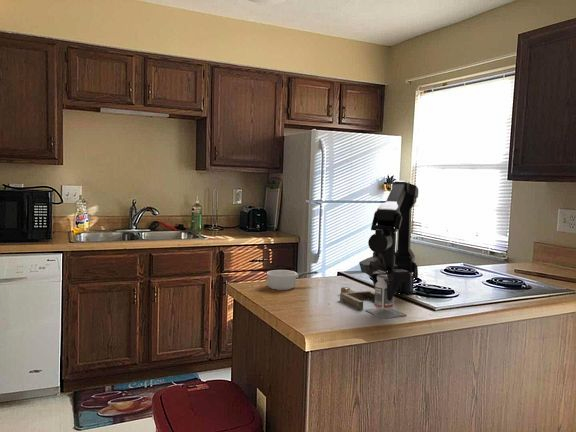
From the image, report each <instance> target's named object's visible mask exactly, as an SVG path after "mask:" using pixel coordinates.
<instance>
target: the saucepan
mask: <svg viewBox="0 0 576 432" xmlns="http://www.w3.org/2000/svg"><path fill="white" fill-rule="evenodd" d="M266 274H267V275H266V278H267V279H266V282H267V283H266V285H267V287H269V288H270V289H272V290H275V289H276V290H277V291H288V290H291V289H293V288H296V286H297V285H296V283H297V279H301V278H302V277H303V276H307V275H313V274H314V275H315V274H318V271H317V270H315V271H305V272H296V271H294V270H288V269H274V270H268V271H266Z"/></svg>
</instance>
